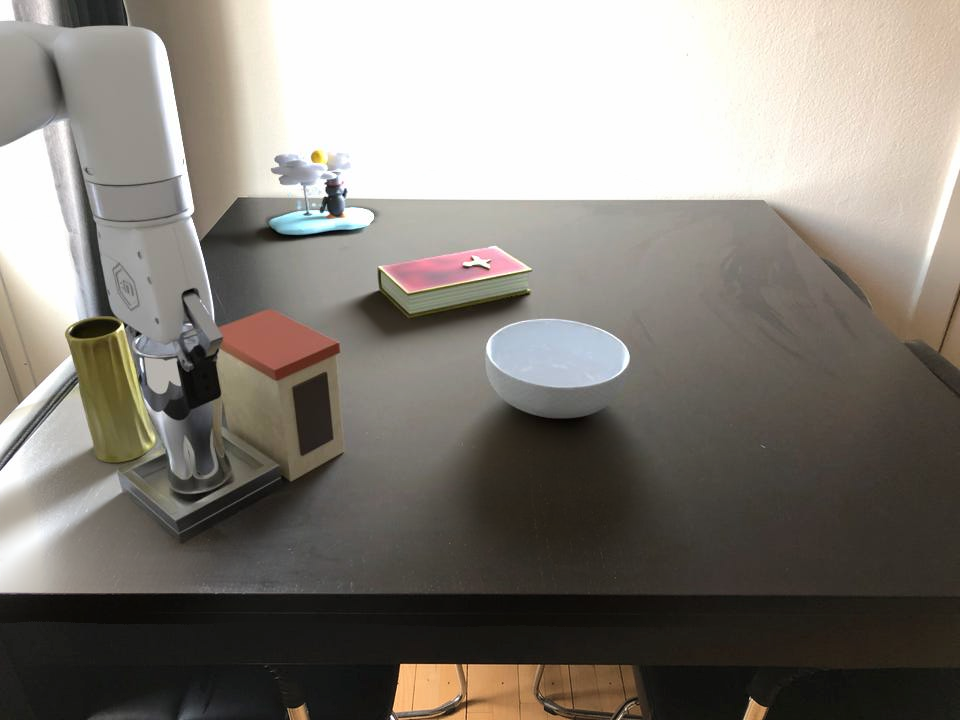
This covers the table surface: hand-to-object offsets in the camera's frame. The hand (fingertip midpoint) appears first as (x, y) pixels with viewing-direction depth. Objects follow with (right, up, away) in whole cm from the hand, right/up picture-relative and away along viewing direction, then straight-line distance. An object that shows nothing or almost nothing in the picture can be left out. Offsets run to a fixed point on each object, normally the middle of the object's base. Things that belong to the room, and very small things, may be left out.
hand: (180, 385), depth 68 cm
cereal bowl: (+36, -3, +21) cm, 42 cm away
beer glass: (0, -9, +5) cm, 10 cm away
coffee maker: (+3, -9, +8) cm, 13 cm away
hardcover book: (+23, +13, +50) cm, 56 cm away
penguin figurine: (-3, +28, +75) cm, 80 cm away
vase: (-11, -7, +12) cm, 17 cm away
